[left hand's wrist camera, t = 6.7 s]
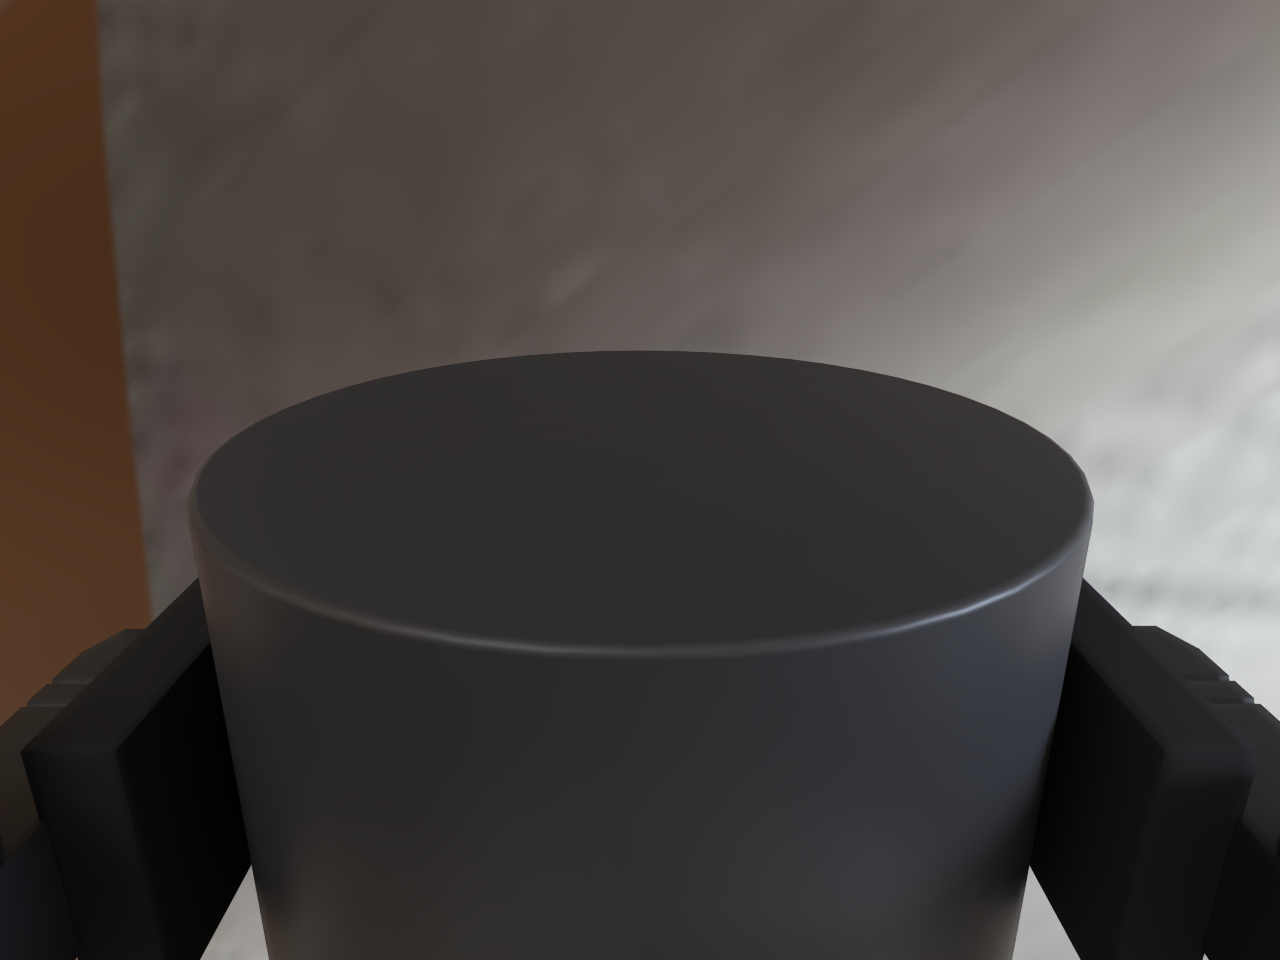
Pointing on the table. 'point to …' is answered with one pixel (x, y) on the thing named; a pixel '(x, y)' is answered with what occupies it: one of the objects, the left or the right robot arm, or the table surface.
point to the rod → (640, 660)
